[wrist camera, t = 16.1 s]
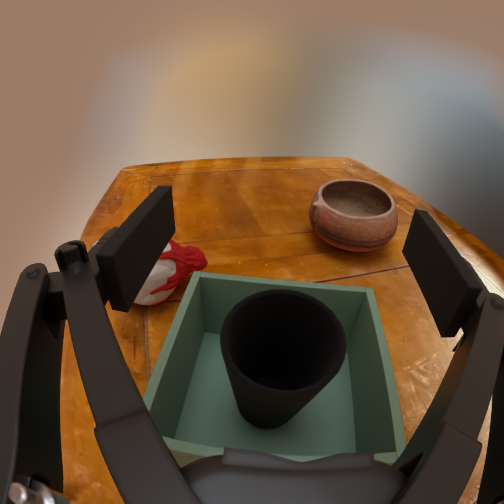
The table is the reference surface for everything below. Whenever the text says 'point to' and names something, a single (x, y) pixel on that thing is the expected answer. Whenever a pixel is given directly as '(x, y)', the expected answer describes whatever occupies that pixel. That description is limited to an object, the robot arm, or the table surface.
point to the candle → (169, 272)
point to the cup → (280, 353)
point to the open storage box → (309, 417)
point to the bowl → (353, 215)
